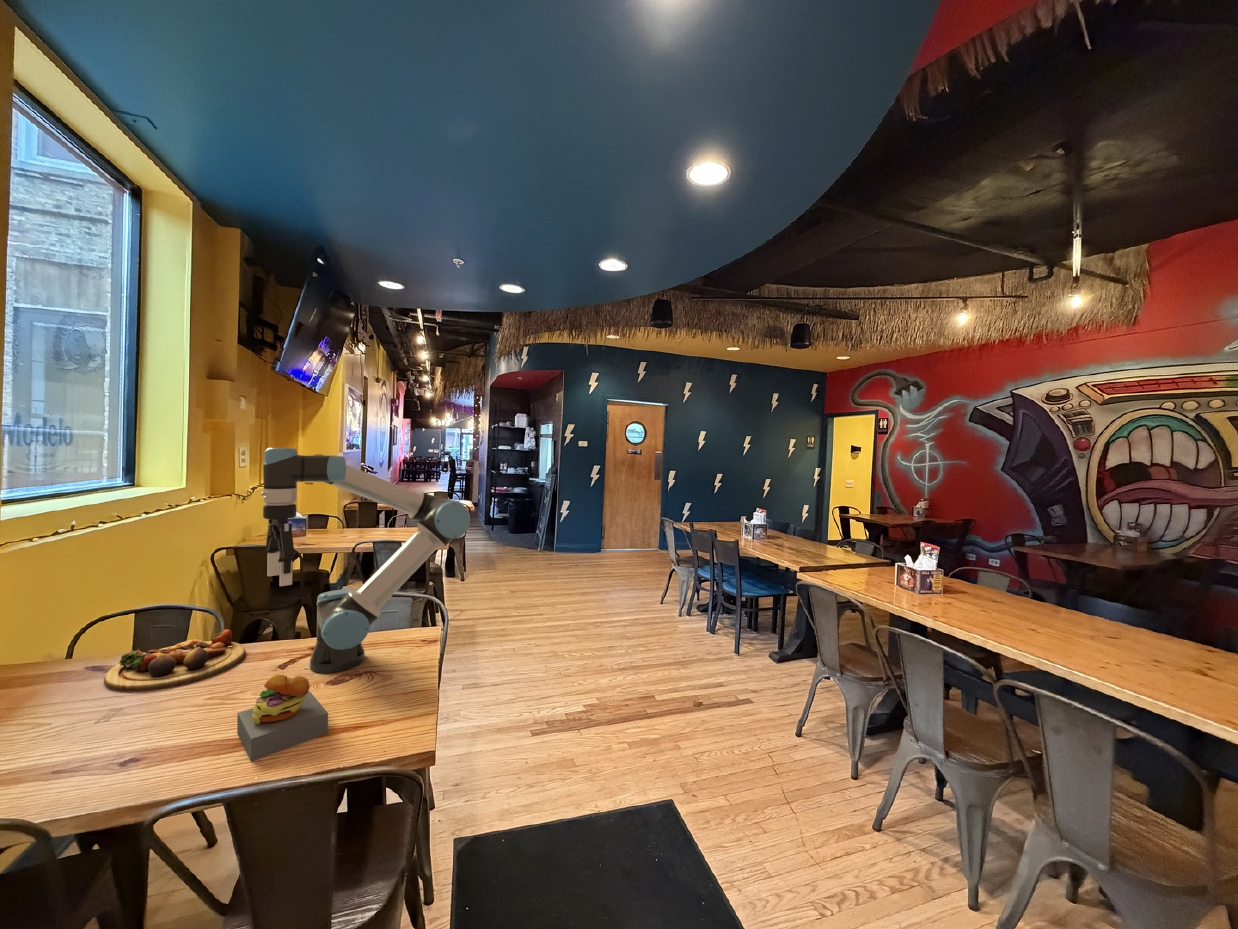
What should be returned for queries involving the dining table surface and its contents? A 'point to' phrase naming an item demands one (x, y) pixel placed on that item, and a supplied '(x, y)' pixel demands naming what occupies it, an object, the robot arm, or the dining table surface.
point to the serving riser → (282, 729)
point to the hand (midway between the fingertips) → (279, 580)
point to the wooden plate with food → (175, 664)
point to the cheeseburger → (280, 698)
